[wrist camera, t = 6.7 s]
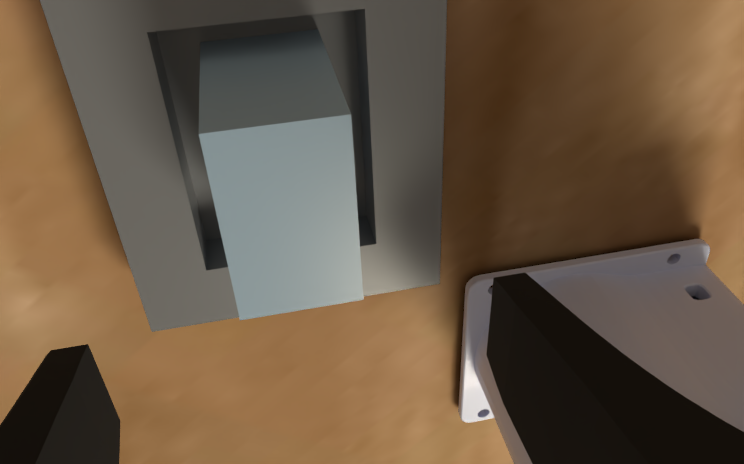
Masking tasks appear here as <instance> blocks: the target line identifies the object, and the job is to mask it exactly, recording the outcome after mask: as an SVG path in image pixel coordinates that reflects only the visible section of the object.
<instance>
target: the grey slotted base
mask: <svg viewBox="0 0 744 464" xmlns="http://www.w3.org/2000/svg"><path fill="white" fill-rule="evenodd" d="M40 2H41V5H42V8H43V11H44V14H45V17H46V20H47V23H48V26H49V29H50V32H51V35H52V38H53V41H54V44H55V47H56V50H57V53H58V55H59V58H60V61H61V64H62V67H63V70H64V73H65V76H66V79H67V82H68V85H69V88H70V91H71V94H72V97H73V100H74V103H75V106H76V109H77V112H78V115H79V118H80V121H81V124H82V126H83V129H84V132H85V135H86V138H87V141H88V144H89V147H90V150H91V153H92V156H93V159H94V162H95V165H96V168H97V171H98V174H99V177H100V180H101V183H102V186H103V189H104V192H105V195H106V197H107V200H108V203H109V206H110V209H111V212H112V215H113V218H114V221H115V224H116V227H117V230H118V233H119V236H120V239H121V242H122V245H123V248H124V251H125V254H126V257H127V260H128V263H129V266H130V268H131V271H132V274H133V277H134V280H135V283H136V286H137V289H138V292H139V295H140V298H141V301H142V304H143V307H144V310H145V313H146V316H147V319H148V322H149V325H150V328H151V331H152V332H154V331H160V330H166V329H172V328H178V327H184V326H190V325H196V324H202V323H207V322H213V321H219V320H225V319H231V318H237V317H239V313H238V309H237V304H236V300H235V295H234V291H233V286H232V282H231V277H230V273H229V268H228V264H227V259H226V255H225V250H224V246H223V241H222V237H221V233H220V228H219V224H218V219H217V215H216V210H215V206H214V201H213V197H212V192H211V188H210V183H209V179H208V174H207V170H206V165H205V161H204V156H203V152H202V147H201V143H200V138H199V86H200V42H206V41H215V40H224V39H233V38H242V37H251V36H260V35H269V34H278V33H287V32H296V31H305V30H314V29H318V31H319V33H320V36H321V38H322V41H323V43H324V46H325V48H326V51H327V54H328V56H329V59H330V61H331V64H332V66H333V69H334V72H335V74H336V77H337V79H338V82H339V84H340V87H341V89H342V92H343V95H344V97H345V100H346V102H347V105H348V107H349V110H350V113H351V119H352V134H353V149H354V164H355V179H356V194H357V209H358V224H359V239H360V254H361V269H362V284H363V296H369V295H375V294H381V293H387V292H393V291H399V290H405V289H411V288H417V287H423V286H429V285H435V284H440V256H441V217H442V178H443V139H444V100H445V61H446V22H447V0H40Z"/></svg>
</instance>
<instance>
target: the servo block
mask: <svg viewBox="0 0 744 464" xmlns="http://www.w3.org/2000/svg"><path fill="white" fill-rule="evenodd" d="M199 138H200V143H201V147H202V152H203V156H204V161H205V165H206V170H207V174H208V179H209V183H210V188H211V192H212V197H213V201H214V206H215V210H216V215H217V219H218V224H219V228H220V233H221V237H222V241H223V246H224V250H225V255H226V259H227V264H228V268H229V273H230V277H231V282H232V286H233V291H234V295H235V300H236V304H237V309H238V313H239V318H240V320H245V319H251V318H257V317H263V316H269V315H275V314H281V313H287V312H293V311H299V310H305V309H311V308H317V307H323V306H328V305H334V304H340V303H346V302H352V301H358V300H364V299H363V284H362V269H361V254H360V239H359V224H358V209H357V194H356V179H355V164H354V149H353V134H352V119H351V113H350V110H349V107H348V105H347V102H346V100H345V97H344V95H343V92H342V89H341V87H340V84H339V82H338V79H337V77H336V74H335V72H334V69H333V66H332V64H331V61H330V59H329V56H328V54H327V51H326V48H325V46H324V43H323V41H322V38H321V36H320V33H319V31H318V29H314V30H305V31H296V32H287V33H278V34H269V35H260V36H251V37H242V38H233V39H224V40H215V41H206V42H200V86H199Z"/></svg>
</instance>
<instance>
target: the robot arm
mask: <svg viewBox="0 0 744 464" xmlns="http://www.w3.org/2000/svg"><path fill="white" fill-rule="evenodd" d="M709 253H710V247H709V245H708V244H707V243H706V242H705V241H704V240H702V239H692V240H686V241H680V242H674V243H668V244H662V245H656V246H650V247H644V248H638V249H632V250H626V251H620V252H614V253H608V254H602V255H596V256H590V257H584V258H578V259H572V260H566V261H560V262H554V263H548V264H542V265H536V266H530V267H524V268H518V269H512V270H506V271H500V272H494V273H488V274H482V275H478V276H474V277H473V278H471V279H470V280H469V281H468V282H467V284H466V287H465V303H464V320H463V338H462V356H461V374H460V391H459V409H458V412H459V415H460V418H461V420H462V421H464V422H476V421H481V420H486V419H491V418H495V420H496V422H497V425H498V427H499V429H500V432H501V434H502V436H503V439H504V441H505V444H506V446H507V448H508V451H509V453H510V455H511V458H512V460H513V462H514V464H744V304H743V303H742V302H741V301H740V300H739V299H738V298H737V297H736V296H735V295H734V294H733V293H732V292H731V291H730V290H729V289H728V288H727V287H726V286H725V285H724V283H723V282H722V281H721V280H720V279H719V278H718V277H717V276H716V275H715V274H714V273H713V272H712V271H711V270H710V269H709V268H708V267H707V266H706V262H707V259H708V256H709ZM671 255H672V256H671ZM492 285H493V287H492V288H489V287H490V286H492ZM119 450H120V419H119V417H118V415H117V412H116V410H115V407H114V405H113V403H112V400H111V398H110V396H109V393H108V391H107V388H106V386H105V384H104V381H103V379H102V376H101V374H100V372H99V369H98V367H97V365H96V362H95V360H94V357H93V355H92V353H91V350H90V348H89V346H88V344H87V345H81V346H75V347H69V348H63V349H57V350H51V351H50V352H49V353H48V354H47V356H46V357H45V358H44V360H43V361H42V363H41V364H40V366H39V367H38V369H37V370H36V372H35V374H34V375H33V377H32V378H31V380H30V381H29V383H28V384H27V386H26V387H25V389H24V390H23V392H22V393H21V395H20V396H19V398H18V400H17V401H16V403H15V404H14V406H13V407H12V409H11V410H10V411H9V413H8V414H7V416H6V417H5V419H4V420H3V422H2V423H1V425H0V464H119Z"/></svg>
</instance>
